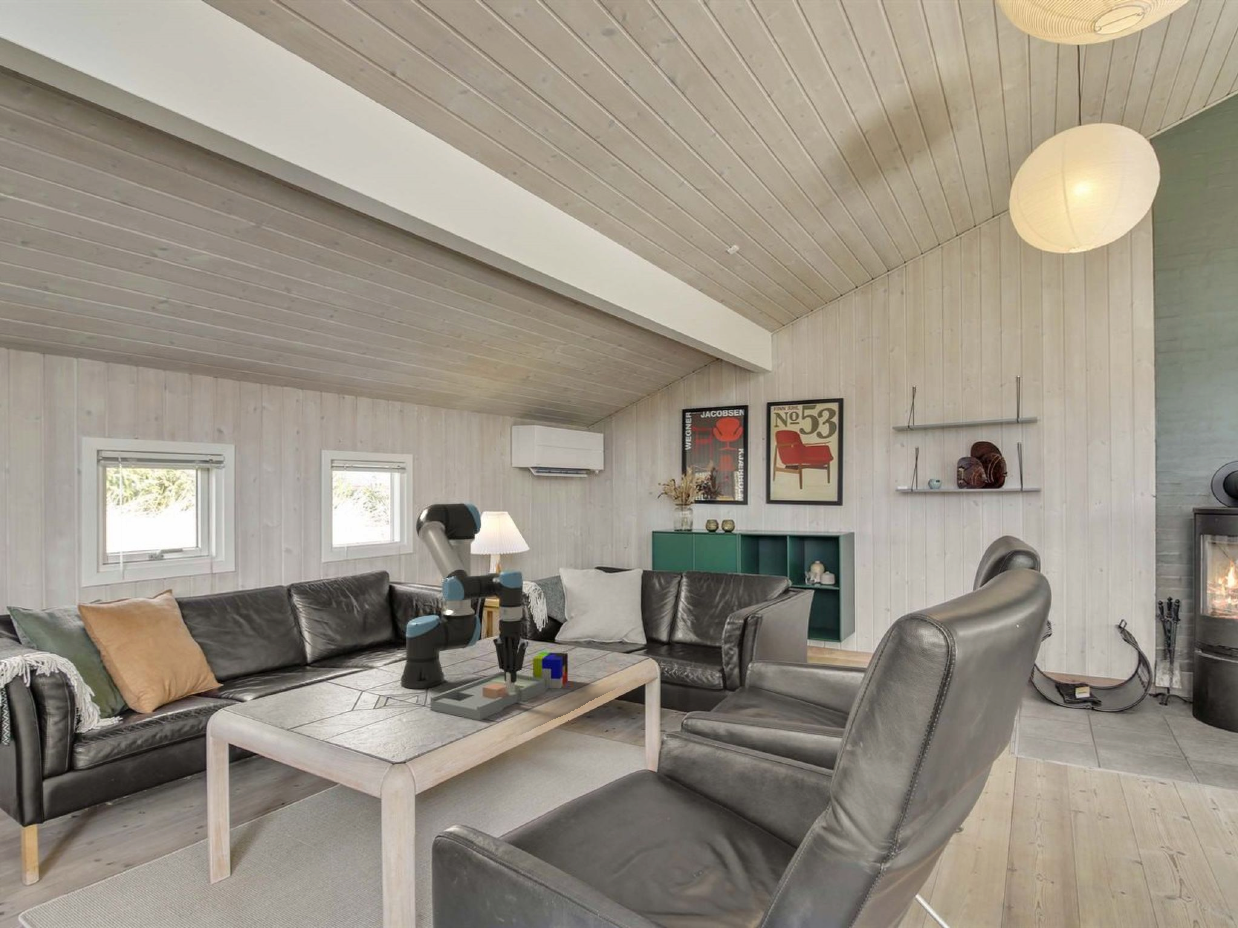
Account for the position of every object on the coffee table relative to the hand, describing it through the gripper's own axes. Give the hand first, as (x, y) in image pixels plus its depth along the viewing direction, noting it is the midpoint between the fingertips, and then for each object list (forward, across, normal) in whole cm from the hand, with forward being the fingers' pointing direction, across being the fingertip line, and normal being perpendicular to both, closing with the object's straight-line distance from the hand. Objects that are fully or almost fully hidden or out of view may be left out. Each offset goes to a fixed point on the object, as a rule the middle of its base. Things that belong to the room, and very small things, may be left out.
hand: (510, 691), depth 225 cm
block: (+2, -5, -1) cm, 5 cm away
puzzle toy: (+5, -3, +27) cm, 28 cm away
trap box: (+5, -10, +1) cm, 11 cm away
